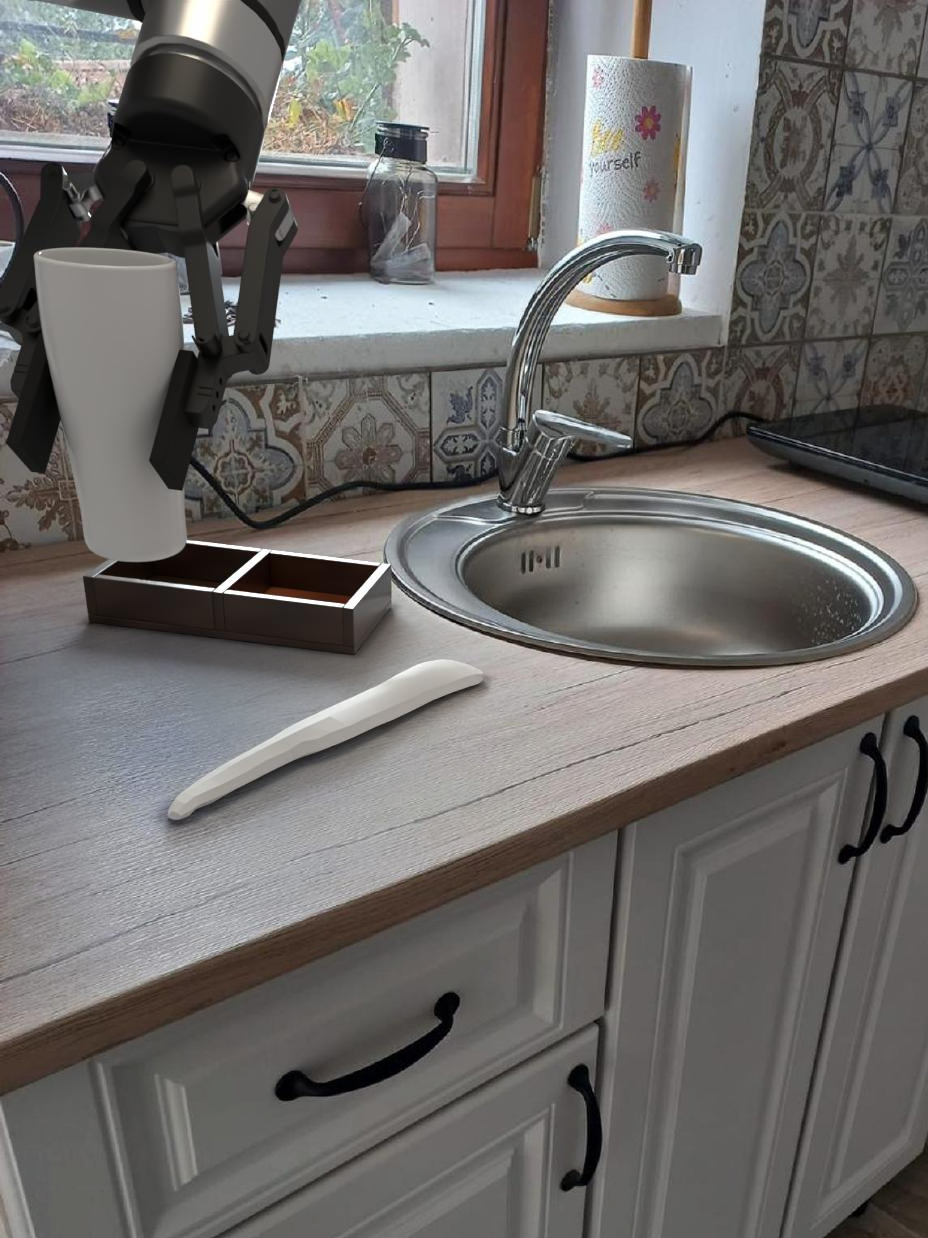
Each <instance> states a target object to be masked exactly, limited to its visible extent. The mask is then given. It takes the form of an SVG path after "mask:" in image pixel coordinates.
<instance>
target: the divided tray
mask: <svg viewBox="0 0 928 1238" xmlns="http://www.w3.org/2000/svg"><path fill="white" fill-rule="evenodd" d="M82 582H83V588H84V596H85V603H86V612H87V618H88V622H89V623H96V624H103V625H104V624H105V625H111V626H121V627H128V628H136V629H145V630H152V631H153V630H154V631H159V632H167V633H178V634H184V635H192V636H202V637H207V638H209V637H210V638H215V639H216V638H218V639H225V640H233V641H242V642H251V643H259V644H264V645H265V644H266V645H267V644H268V645H275V646H282V647H292V648H299V649H305V650H306V649H307V650H316V651H321V652H322V651H324V652H330V653H331V652H332V653H339V654H347V655H355V654H356V653H357V652H358V651H359V649H360V648H361V647H362V645H363V644H364V643H365V641H366V640H367V639H368V637H369V636H370V635H371V634H372V632H373V631H374V630H375V628H377V626H378V625H379V623H381V621H382V619H383V618H385V616H386V615H387V613H388V612H389V611H390V610H391V608H392V605H393V602H392V599H393V598H392V596H393V595H392V592H393V591H392V590H393V589H392V588H393V587H392V564H391V563H381V562H374V561H365V560H358V559H350V558H340V557H331V556H325V555H318V554H317V555H316V554H307V553H298V552H291V551H283V550H275V549H274V550H272V549H266V548H265V549H264V548H258V547H257V548H256V547H248V546H240V545H233V544H232V545H231V544H223V543H214V542H207V541H197V540H189V539H187V542H186V545H185V547H184V548H183V550H182V551H180V552H179V553H177V554H176V555H174V556H171V557H168V558H165V559H161V560H156V561H147V562H124V561H116V560H111V559H107V560H105V561H103V562H102V563H100V564H99V565H97V566H96V567H95V568H93V569H92V570H90V571H89V572H87V573H86V574H84V575H82Z"/></svg>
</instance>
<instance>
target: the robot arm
mask: <svg viewBox="0 0 928 1238" xmlns="http://www.w3.org/2000/svg"><path fill="white" fill-rule="evenodd" d="M28 1H30V2H33V1H35V2H39V3H45V4H51V5H56V6H61V7H66V8H71V9H75V10H81V11H85V12H91V13H95V14H101V15H105V16H111V17H115V18H121V19H126V20H131V21H136V22H140V23H141V26H140V29H139V32H138V36H137V39H136V42H135V45H134V48H133V51H132V55H131V60H130V67H129V69H128V71H127V74H126V77H125V79H124V83H123V86H122V89H121V93H120V95H119V99H118V103H117V105H116V109H115V113H114V115H113V120H112V121H113V122H112V130H111V142H110V143H111V144H110V147H109V149H108V151H107V153H106V154H105V155H104V156H103V158H101V160H99V161H98V163H97V164H96V165H95V167H94V169H93V171H86V172H77V173H67V172H66V171H65V168H64V167H63V166H62V164H61V163H59V162H57V161H49V162H47V163H45V164H44V165H43V166H42V168H41V169H40V180H39V181H40V185H39V187H40V188H39V200H38V201H37V204H36V206H35V208H34V211H33V213H32V215H31V218H30V220H29V222H28V224H27V226H26V228H25V232H24V234H23V235H22V238H21V240H20V242H19V245H18V247H17V249H16V252H15V254H14V256H13V258H12V260H11V262H10V265H9V267H8V269H7V271H6V274H5V277H4V279H3V281H2V284H1V286H0V323H1V325H2V326H3V328H4V329H5V330H6V331H7V333H8V334H9V335H10V337H11V338H12V339H13V341H14V342H15V343H16V345H18V346H20V348H19V351H18V354H17V358H16V361H15V365H14V367H13V372H12V374H11V377H10V380H9V383H10V390H11V392H12V393H13V394H14V395H15V397H16V398H17V399H18V402H17V405H16V408H15V411H14V415H13V418H12V421H11V425H10V428H9V431H8V434H7V438H6V441H5V444H6V445H7V446H8V448H9V449H10V450H11V451H12V452H13V453H14V454H15V456H16V457H17V458H18V459H19V460H20V461H21V462H22V464H23V465H24V466H25V467H26V468H27V469H28V470H29V472H30V473H36V474H44V475H45V474H46V470H47V468H48V465H49V461H50V458H51V454H52V451H53V448H54V444H55V441H56V437H57V434H58V430H59V427H60V423H61V419H60V414H59V410H58V405H57V401H56V396H55V392H54V388H53V383H52V379H51V374H50V370H49V365H48V360H47V356H46V351H45V346H44V340H43V335H42V329H41V322H40V315H39V307H38V299H37V290H36V278H35V266H34V254H35V253H36V252H38V251H41V250H45V249H53V248H107V249H121V250H131V251H140V252H147V253H153V254H158V255H160V254H166V253H167V254H170V255H172V256H175V257H177V258H181V259H184V263H185V270H186V277H187V285H188V295H189V300H190V308H191V316H192V324H193V330H194V334H192V335H191V340H192V341H193V343H194V344H195V346H196V349H197V350H198V353H197V355H196V353H195V351H194V350H191V349H190V350H188V349H184V350H181V349H179V352H178V355H177V358H176V362H175V366H174V370H173V373H172V377H171V381H170V384H169V388H168V392H167V395H166V399H165V403H164V407H163V410H162V414H161V418H160V421H159V425H158V429H157V432H156V436H155V440H154V443H153V447H152V451H151V455H150V458H149V462H150V463H151V465H152V466H153V468H154V469H155V470H156V472H157V473H158V475H159V476H160V478H161V479H162V481H163V482H164V483H165V485H166V486H167V488H168V489H172V490H180V491H183V487H184V483H186V480H187V476H188V471H189V467H190V464H191V459H192V456H193V452H194V450H195V449H194V448H195V445H196V440H197V436H198V434H199V429H202V430H203V429H204V430H212V429H213V428H214V426H215V425H216V424H217V422H218V419H219V415H220V411H221V407H222V404H223V399H224V396H225V392H226V388H227V384H228V381H229V380H230V379H231V378H232V377H233V376H234V375H236V374H238V373H242V372H247V371H248V372H249V373H251V374H252V375H256V376H258V375H259V376H260V375H264V374H265V373H266V372H268V370H269V367H270V363H271V355H272V347H273V340H274V334H275V326H276V325H275V324H276V318H277V317H276V316H277V309H278V301H279V295H280V287H281V278H282V271H283V263H284V257H285V255H286V253H287V252H288V250H289V248H290V246H291V245H292V243H293V241H294V239H295V237H296V235H298V231H299V228H298V224H297V221H296V219H295V216H294V213H293V210H292V208H291V205H290V201H289V199H288V196H287V194H286V192H285V190H283V189H282V188H279V187H272V188H270V189H268V190H267V191H265V193H264V194H263V193H260V192H257V191H256V190H255V191H254V190H251V189H252V186H253V184H254V182H255V181H254V180H255V176H256V173H257V169H258V165H259V162H260V158H261V153H262V151H263V146H264V143H265V142H264V141H265V133H266V130H267V128H268V125H269V123H270V118H271V114H272V110H273V106H274V103H275V98H276V96H277V95H276V94H277V90H278V86H279V84H280V79H281V75H282V72H283V69H284V61H285V59H286V56H287V51H288V48H289V46H290V45H289V44H290V41H291V38H292V34H293V31H294V27H295V25H296V21H297V17H298V14H299V10H300V8H301V7H300V6H301V3H302V0H28ZM98 200H102V201H101V202H100V204H99V205H98V207H96V209H95V211H94V212H93V213H92V215H91V214H90V211H91V208H92V206H93V205H94V203H95V202H97V201H98ZM245 220H246V222H247V223H246V224H247V225H248V228H247V233H246V240H245V241H246V242H245V247H244V253H243V254H244V255H243V260H242V261H243V262H242V268H241V277H240V283H239V290H238V296H237V305H236V310H235V311H236V312H235V320H234V325H233V332H232V334H231V335H230V332H229V331H230V330H229V325H228V316H227V310H226V303H225V297H224V288H223V282H222V275H223V267H222V260H221V253H220V246H219V241H220V240H222V239H223V238H224V237H226V236H227V235H228V234H229V233H230V232H231V231H233V230H234V229H235V228H237V226H239V225H240V224H242V223H243V222H244V221H245ZM89 221H90V229H89V230H88V232H87V233H86V235H85V236H84V237H83V238H82V240H81V241H80V243H79V244H78V242H79V239H80V237H81V232H82V227H83V222H84V223H87V222H89Z"/></svg>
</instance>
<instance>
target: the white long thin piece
mask: <svg viewBox="0 0 928 1238" xmlns="http://www.w3.org/2000/svg"><path fill="white" fill-rule="evenodd" d="M483 680H484V672H483V671H482V670H480V669H479V668H477V667H475V666H472V665H470V664H467V663H464V662H461V661H457V660H453V659H444V658H441V659H433V660H428V661H424V662H420V663H418V664H415V665H413V666H411V667H409V668H407V669H405V670H403V671H401V672H400V673H397V674H395V675H394V676H392V677H390V678H388V679H387V680H385V681H383V682H382V683H380V684H377V685H376V686H373V687H371V688H369V689H367V690H365V691H362V692H360V693H358V694H356V695H354V696H351V697H349V698H347V699H345V700H342V701H340V702H338V703H336V704H333V705H331V706H329V707H327V708H325V709H323V710H321V711H318V712H316V713H314V714H312V715H310V716H308V717H305V718H304V719H302V720H299V721H297V722H295V723H293V724H291V725H289V726H287V727H285V728H284V729H283V730H281V731H280V732H278V733H277V734H275V735H274V736H272V737H270V738H268V739H266V740H264V741H262V742H261V743H259V744H257V745H256V746H253V747H252V748H250V749H248V750H247V751H245V752H243V753H240V754H239V755H238V756H236V757H234V758H232V759H229V760H228V761H226V762H225V763H223V764H221V765H219V766H218V767H217V768H214V770H212V771H210V772H208V773H207V774H205V775H204V776H202V777H200V778H199V779H198V780H196V781H195V782H194V783H192V784H190V785H189V786H188V787H187V788H185V789H184V790H183V791H182V792H180V793H178V794H177V796H176V797H175V798H174V799H173V802H172V803H171V805H170V806H169V808H168V811H167V818H169V819H170V820H173V821H174V820H175V821H177V820H179V821H180V820H181V819H185V818H188V817H190V816H191V815H192V814H193V813H194V811H195V810H197V809H201V808H203V807H206V806H208V805H210V804H212V803H214V802H217V800H219V799H221V798H223V797H224V796H226V795H228V794H230V793H232V792H234V791H235V790H237V789H239V788H241V787H243V786H245V785H247V784H248V783H250V782H253V781H254V780H256V779H257V780H258V778H260V777H263V776H265V775H266V774H268V773H271V772H272V771H274V770H276V769H278V768H280V767H282V766H284V765H286V764H289V763H290V762H294V761H297V760H299V759H302V758H304V757H305V758H306V757H307V756H310V755H312V754H316V753H318V752H320V751H324V750H326V749H328V748H331V747H332V746H335V745H338V744H341V743H343V742H346V741H348V740H350V739H352V738H355V737H357V736H359V735H361V734H363V733H366V732H368V731H370V730H371V729H374V728H376V727H379V726H381V725H384V724H386V723H388V722H390V721H393V720H396V719H398V718H399V717H403V716H404V715H406V714H408V713H410V712H412V711H414V710H416V709H418V708H420V707H422V706H425V705H426V704H428V703H430V702H432V701H434V700H436V699H439V698H441V697H444V696H447V695H449V694H452V693H454V692H458V691H461V690H464V689H466V688H469V687H473V686H476V685H479V684H481V683H482V682H483Z"/></svg>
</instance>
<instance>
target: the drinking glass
mask: <svg viewBox="0 0 928 1238" xmlns="http://www.w3.org/2000/svg"><path fill="white" fill-rule="evenodd" d="M34 266H35V278H36V290H37V299H38V307H39V315H40V322H41V329H42V335H43V340H44V346H45V351H46V356H47V360H48V365H49V370H50V374H51V379H52V383H53V388H54V392H55V396H56V401H57V405H58V410H59V414H60V419H61V421H60V423H61V427H62V431H63V436H64V441H65V445H66V450H67V454H68V458H69V459H68V460H69V463H70V467H71V473H72V477H73V481H74V482H73V483H74V487H75V492H76V496H77V500H78V504H79V510H80V517H81V524H82V531H83V532H82V534H83V539H84V542H85V545H86V547H87V548H88V549H89V551H91V552H92V553H93V554H95V555H97V556H98V557H101V558H102V559H107V560H108V559H111V560H116V561H124V562H147V561H156V560H161V559H165V558H168V557H171V556H174V555H176V554H177V553H179V552H180V551H182V550H183V548H184V547H185V545H186V542H187V540H188V531H187V530H188V529H187V518H186V497H185V496H186V495H185V494H186V493H185V492H186V491H185V488H186V487H185V483H186V482H185V483H184V487H183V491H180V490H172V489H168V488H167V486H166V485H165V483H164V482H163V481H162V479H161V478H160V476H159V475H158V473H157V472H156V470H155V469H154V468H153V466H152V465H151V463H150V462H149V458H150V455H151V451H152V447H153V443H154V440H155V436H156V432H157V429H158V425H159V421H160V418H161V414H162V410H163V407H164V403H165V399H166V395H167V392H168V388H169V384H170V381H171V377H172V373H173V370H174V366H175V362H176V358H177V355H178V352H179V349H181V350H185V333H184V332H185V331H184V318H183V310H182V309H183V308H182V299H181V292H180V291H181V290H180V283H179V277H178V267H177V263H176V261H175V260H174V259H173V258H170V257H169V256H165V255H161V254H153V253H147V252H140V251H131V250H121V249H107V248H77V247H75V248H53V249H45V250H41V251H38V252H36V253H35V254H34Z"/></svg>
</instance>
